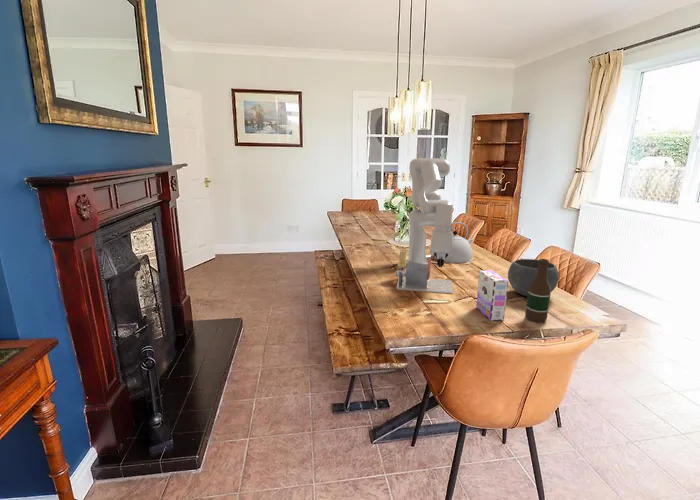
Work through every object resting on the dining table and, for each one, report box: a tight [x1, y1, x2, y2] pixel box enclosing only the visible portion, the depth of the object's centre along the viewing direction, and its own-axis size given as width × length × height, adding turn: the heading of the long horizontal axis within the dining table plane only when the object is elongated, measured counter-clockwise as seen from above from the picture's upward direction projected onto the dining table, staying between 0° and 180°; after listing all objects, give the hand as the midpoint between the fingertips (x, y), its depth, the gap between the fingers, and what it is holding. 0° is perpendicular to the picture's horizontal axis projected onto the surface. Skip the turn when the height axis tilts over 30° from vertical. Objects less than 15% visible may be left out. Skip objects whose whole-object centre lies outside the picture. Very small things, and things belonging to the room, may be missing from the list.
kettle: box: [433, 221, 474, 264], centre depth 230 cm, size 25×23×22 cm
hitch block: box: [396, 263, 454, 294], centre depth 182 cm, size 26×18×9 cm
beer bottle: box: [524, 258, 552, 324], centre depth 143 cm, size 8×8×24 cm
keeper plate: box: [397, 250, 407, 269], centre depth 187 cm, size 4×7×7 cm, turn 169°
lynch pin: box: [395, 257, 432, 281], centre depth 181 cm, size 16×5×11 cm, turn 79°
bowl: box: [507, 258, 560, 297], centre depth 170 cm, size 20×20×15 cm
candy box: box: [476, 269, 509, 322], centre depth 149 cm, size 14×6×16 cm, turn 5°
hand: (440, 266), depth 178 cm, fingers closed
